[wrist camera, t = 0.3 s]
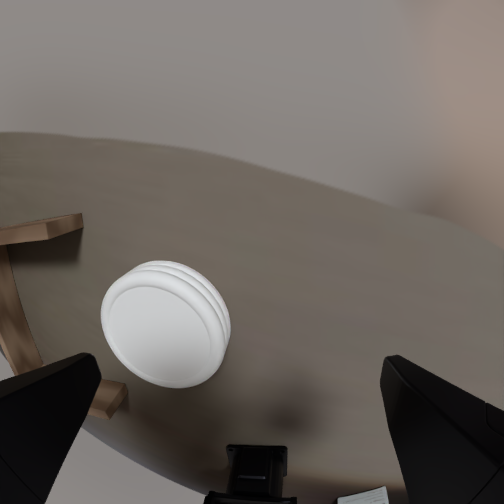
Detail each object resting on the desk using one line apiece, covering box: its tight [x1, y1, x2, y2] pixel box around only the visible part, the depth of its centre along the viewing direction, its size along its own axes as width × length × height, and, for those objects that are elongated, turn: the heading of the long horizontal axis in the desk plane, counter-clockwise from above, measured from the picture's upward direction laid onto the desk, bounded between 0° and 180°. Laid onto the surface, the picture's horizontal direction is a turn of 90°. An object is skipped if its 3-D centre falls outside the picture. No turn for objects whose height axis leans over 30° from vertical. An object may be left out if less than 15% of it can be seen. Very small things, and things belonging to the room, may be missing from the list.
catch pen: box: [0, 213, 128, 420], centre depth 22 cm, size 18×14×4 cm
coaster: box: [101, 261, 231, 388], centre depth 21 cm, size 10×10×4 cm
